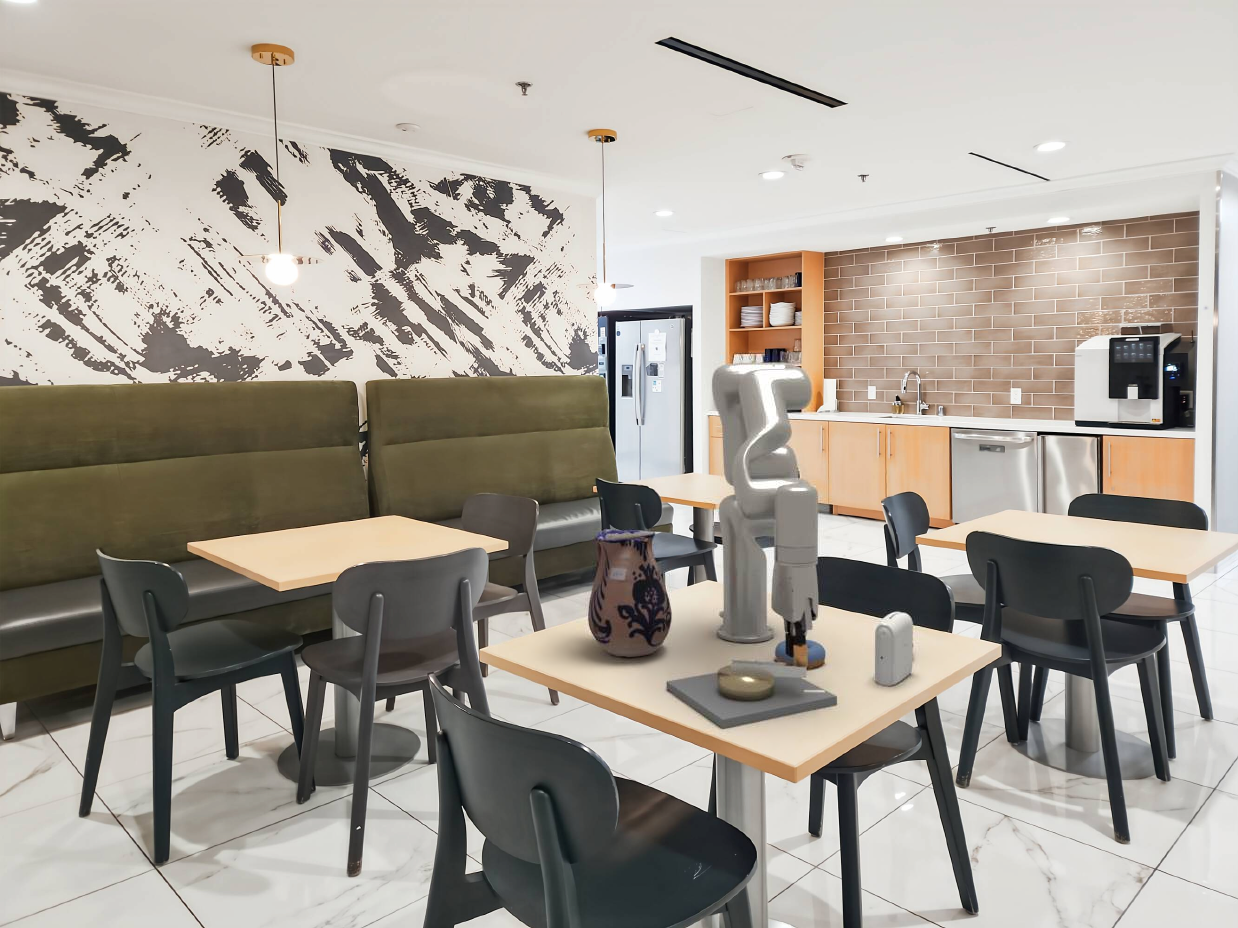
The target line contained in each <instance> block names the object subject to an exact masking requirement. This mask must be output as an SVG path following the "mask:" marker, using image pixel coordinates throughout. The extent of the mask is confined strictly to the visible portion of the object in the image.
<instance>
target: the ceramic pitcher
mask: <svg viewBox="0 0 1238 928" xmlns="http://www.w3.org/2000/svg"><path fill="white" fill-rule="evenodd" d="M655 535H656V532H654V531H646V530H641V529H639V530H638V529H637V530H633V529H629V530H626V529H625V530H617V529H610V528H609V529H608V528H606V529H604V530H601V531H600V532H599V533H597V534H596V535H595V537H594V539H595V540H596V543H595V544H596V556H597V561H598V566H597V569H596V575H595V577H594V581H593V584H592V589H591V593H590V596H589V601H588V612H587V614H588V615H587V620H588V627H589V630H590V632H591V634H592V636H593V637H594V639H595V641H596V642H597V644H599V646H600V647H601V648H602V649H603V650H605V651H606V652H608V653H609V654H611V655H612V654H613V656H615V655H616V656H615V657H621V656H622V657H623V656H625V657H626V658H634V657H635V658H637V657H642V656H648V655H650V654H652V653H654V652H655V651H657V649H659V647H661V646H662V645H663V644H664V642H665V640H666V639H667V637H668V634H669V632H670V629H671V624H672V616H673V615H672V607H671V603H670V598H669V595H668V592H667V588H666V585H665V583H664V580H663V577H662V574H661V572H660V569H659V566H658V564H657V560H656V558H655V555H654V551H653V539H654V537H655Z"/></svg>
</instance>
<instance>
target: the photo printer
mask: <svg viewBox="0 0 1238 928" xmlns="http://www.w3.org/2000/svg"><path fill="white" fill-rule="evenodd" d="M913 632H914V622H913V620H912V617H911V616H910V615H909V614H908V613H906V612H901V611H894V612H891V613H889V614H887V615H886V616H884V617H883V618H882V619H881V620H880V621H879V622H878V624H877V626H876V628H875V631H874V680H875V682H877V684H879V685H881V686H887V687H888V686H889V687H890V686H894V685H896V684H898V683H900V682H901V681H902V680H904V679H906V678H907V676H909V675H910V674H911V673H912V671H913V656H914V655H913V652H914V651H913V650H914V648H913V647H914V633H913Z"/></svg>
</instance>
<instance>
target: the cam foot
mask: <svg viewBox="0 0 1238 928" xmlns="http://www.w3.org/2000/svg"><path fill="white" fill-rule="evenodd" d="M806 666H808V645H806V644H803V643H797V644H794V663H784V662H778V661H761V660H759V661H758V660H756V661H755V660H738V659H731V663H730V664H729V665H725V666H722V667H720V668H719V669H718V670H717V671H716V673H717V689H718V692H719V693H720V694H722V695H723V696H726V697H729V698H732V699H738V700H759V699H764V698H767V697H770V696H771V695H773V694H774V677H794V678H802V679H807V667H806Z"/></svg>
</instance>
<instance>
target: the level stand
mask: <svg viewBox="0 0 1238 928" xmlns="http://www.w3.org/2000/svg"><path fill="white" fill-rule="evenodd" d="M667 689H668V690H669V691H668V690H667ZM666 690H667V691H668V692H670V693H671V692H672V693H671V694H672V695H674V694H675V695H676V696H675V695H674V696H675V697H677V696H678V697H679V698H678V697H677V698H678V699H679V700H681V699H682V700H681V701H683V702H684V701H685V702H686V703H685V702H684V703H685V704H687V705H688V704H689V705H688V706H689V707H691V708H693V709H694V710H695V709H696V710H695V711H697V712H699V713H700V714H701V713H702V714H701V715H703V716H704V717H705V716H706V717H705V718H707V719H708V720H710V721H712V722H713V723H714V724H715V725H717V726H719V727H720V728H721V729H727V728H728V729H729V728H733V727H736V726H737V727H738V726H741V725H747V724H750V723H755V722H760V721H766V720H769V719H775V718H780V717H784V716H789V715H790V716H791V715H793V714H798V713H802V712H803V713H804V712H807V711H813V710H817V709H821V708H822V709H823V708H827V707H831V706H837V705H838V695H836V694H833V693H832V692H830V691H828V690H825V689H824V688H822V687H820V686H818V685H816V684H814V683H812V682H810V681H808V680H807V679H805V678H794V677H774V694H773V695H771V696H770V697H767V698H764V699H759V700H738V699H732V698H729V697H726V696H723V695H722V694H720V693H719V692H718V689H717V672H712V673H706V674H700V675H695V676H689V677H684V678H678V679H673V680H666Z"/></svg>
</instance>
